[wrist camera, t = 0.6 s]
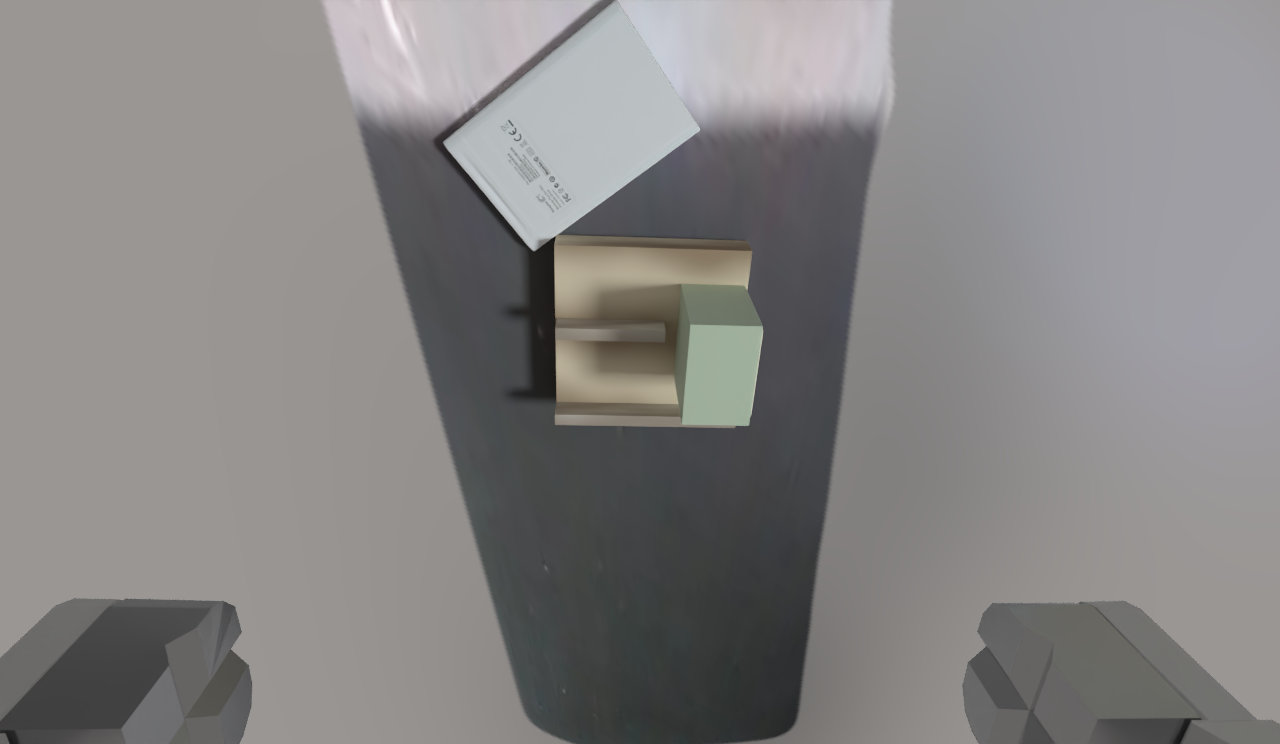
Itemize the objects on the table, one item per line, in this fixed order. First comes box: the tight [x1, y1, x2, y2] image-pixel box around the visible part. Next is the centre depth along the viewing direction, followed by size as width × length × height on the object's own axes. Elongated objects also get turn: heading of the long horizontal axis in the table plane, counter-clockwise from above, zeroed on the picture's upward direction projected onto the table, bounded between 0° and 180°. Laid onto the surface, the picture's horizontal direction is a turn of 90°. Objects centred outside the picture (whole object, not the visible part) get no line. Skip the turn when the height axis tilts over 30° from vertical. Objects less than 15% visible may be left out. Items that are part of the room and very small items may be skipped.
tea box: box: [674, 284, 763, 426], centre depth 42 cm, size 4×6×6 cm, turn 177°
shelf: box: [554, 235, 752, 428], centre depth 45 cm, size 12×12×4 cm
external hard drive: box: [443, 0, 700, 251], centre depth 40 cm, size 2×8×12 cm
